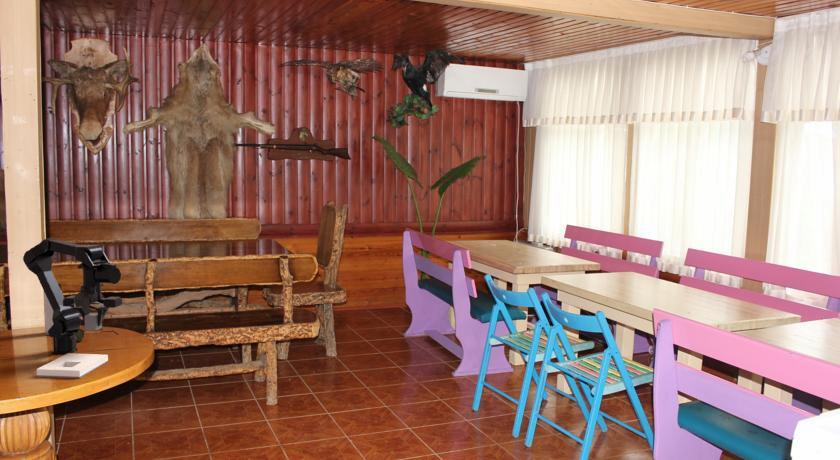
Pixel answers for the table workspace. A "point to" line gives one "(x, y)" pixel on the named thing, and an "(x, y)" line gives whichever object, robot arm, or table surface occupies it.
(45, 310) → the travel mug
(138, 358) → the table surface
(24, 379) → the table surface
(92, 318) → the block
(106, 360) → the socket plate
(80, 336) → the sunglasses
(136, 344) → the table surface
